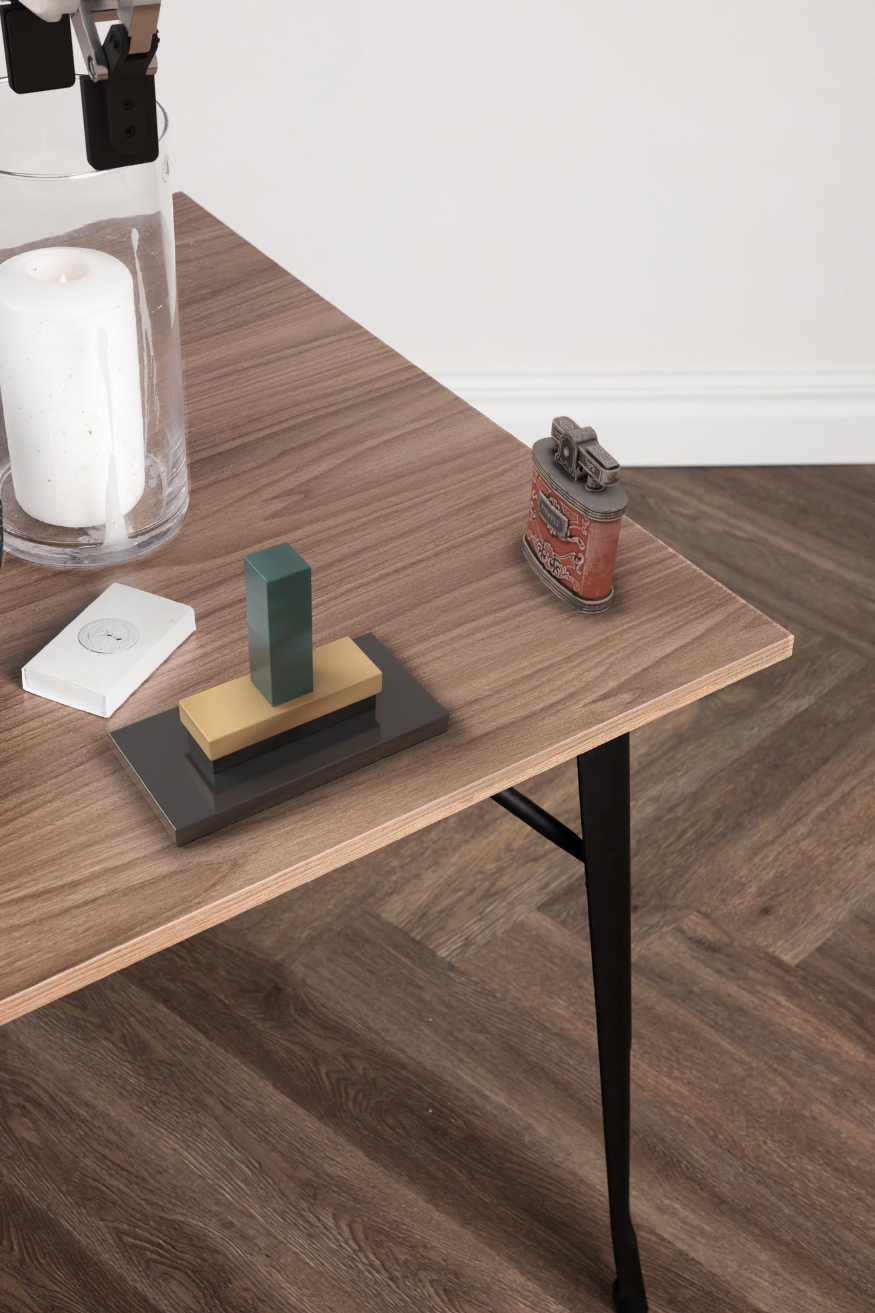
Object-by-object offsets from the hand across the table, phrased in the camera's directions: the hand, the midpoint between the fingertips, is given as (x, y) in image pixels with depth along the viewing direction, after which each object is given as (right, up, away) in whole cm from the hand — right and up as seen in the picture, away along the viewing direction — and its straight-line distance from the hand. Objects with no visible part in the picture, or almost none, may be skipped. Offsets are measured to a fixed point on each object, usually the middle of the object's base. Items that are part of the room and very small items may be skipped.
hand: (81, 124), depth 66 cm
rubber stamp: (+9, -28, +8) cm, 31 cm away
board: (+8, -29, +9) cm, 32 cm away
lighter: (+25, -20, +21) cm, 38 cm away
